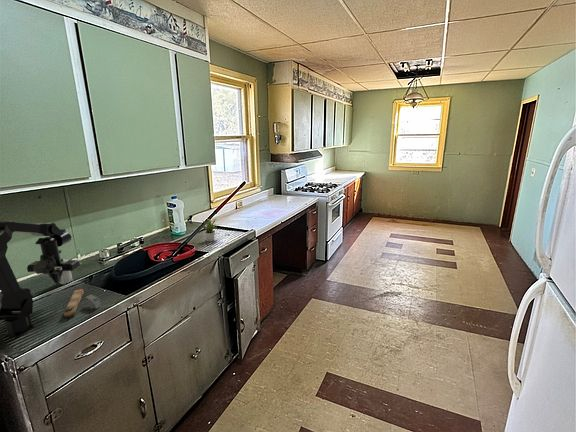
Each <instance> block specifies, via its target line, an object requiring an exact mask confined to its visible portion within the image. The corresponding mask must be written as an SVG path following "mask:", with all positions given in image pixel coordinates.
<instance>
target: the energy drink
mask: <svg viewBox="0 0 576 432" xmlns="http://www.w3.org/2000/svg"><path fill="white" fill-rule="evenodd" d="M61 259H63V262H61V263H66V262H67V261H69V259H68V258H66V257H65V258H61ZM71 281H72V282H73V275H72V271H63V273H62V276H61V279H60V282H59V284H60V285H67V284H66V283H68V284H70V283H71ZM69 282H70V283H69Z"/></svg>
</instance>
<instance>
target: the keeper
mask: <svg viewBox="0 0 576 432" xmlns="http://www.w3.org/2000/svg"><path fill="white" fill-rule="evenodd" d="M85 299H86V300H88V301H90V302H92V307H93V309H94V310H97V309H100V308H101V302H100V301H101V299H100V298H99V297H97V296H95V295H93V294H90V295H87V296H85ZM99 307H100V308H99Z"/></svg>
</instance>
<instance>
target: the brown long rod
mask: <svg viewBox="0 0 576 432" xmlns="http://www.w3.org/2000/svg"><path fill="white" fill-rule="evenodd" d="M83 295H84V289H83V288H80V289H74V291H73V293H72V295H71V297H70V299H69V301H68V304H67V306H66V308H65V309H64V310H63V311H62V314H63V317H64V318H70V317H73V316H74V315H76V313H77V312H76V311H77V308H78V306H79V305H80V304H79V303H80V302H81V299H82V297H83Z"/></svg>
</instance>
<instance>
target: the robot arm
mask: <svg viewBox="0 0 576 432" xmlns="http://www.w3.org/2000/svg"><path fill="white" fill-rule="evenodd" d="M13 233H22V234H24V233H25V234H30V235H31V236H36V237H39V238H38V239H37V240H36V241H35V245H40V246H39V247H40V249H41V253H42V254H41V255H39V260H35V261H34V262H31V263H30V264H28V265H27V266H26V270H27V272H28V273H35V274H36V275H39V274H44V275H48V277H50V278H51V279H52V281H53V282H54V283H55V284H56V285H57V284H58V285H59V284H60V279H61V276H62V273H63V271H71V272H72V271H74V270H75V269H77V268H79V267H80V266H81V265H80V261H79V260H77V259H68V261H67V262H66V263H61V262H63V259H62V258H61V253H62V250H61V249H60V248H59V247H62V246H64V245H65V244H68V243H69V242H71V241H72V235H71V234H70V233H69V232H68V231H66V229H65V228H59V227H58V226H57V224H56V223H54V222H34V223H33V222H32V223H30V222H22V221H21V222H20V221H13V220H0V291H1V293H2V296H1V299H0V304H1V306H0V321H4V326H5V329H6V332H5V333H4V335H5V336H8V337H9V336H10V337H16V338H19V337H21V336H22V335H24V334H25V333H27V332H29V331H31V330H32V329H33V328H35V327H36V325H34V324H33V321H32V317H31V314H33V309H34V307H33V306H34V299H33V298H34V295H32V292H31V289H30V288H28V287H27V288H22V287H21V286H20V284H19V282H18V280H17V277H16V275H15V273H14V272H13V269H12V266H11V265H10V263H9V261H8V258H7V257H6V254H7V252H8V243H9V242H10V241H11V240H12V239H13ZM59 249H60V250H59Z"/></svg>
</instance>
